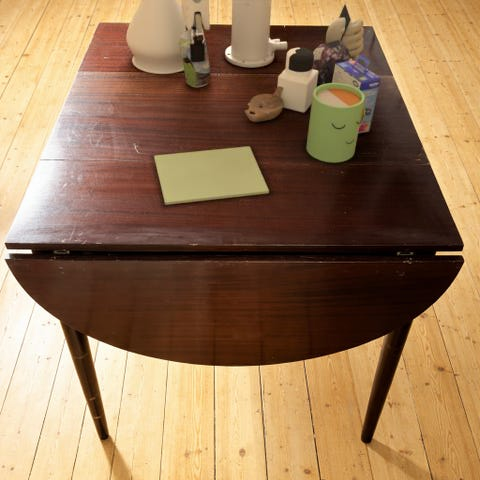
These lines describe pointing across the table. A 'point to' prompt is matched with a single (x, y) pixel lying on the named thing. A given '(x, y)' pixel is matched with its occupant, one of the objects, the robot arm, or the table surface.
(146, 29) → the vase
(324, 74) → the mineral specimen
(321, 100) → the mug
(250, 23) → the robot arm
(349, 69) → the ink cartridge box
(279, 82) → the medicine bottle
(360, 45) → the decorative object
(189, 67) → the beverage can
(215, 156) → the mat
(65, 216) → the table surface
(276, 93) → the oil lamp
